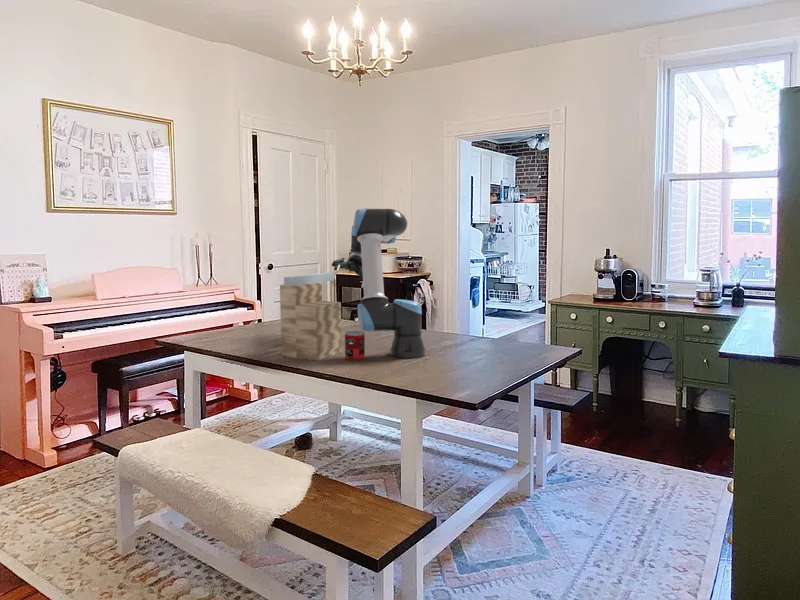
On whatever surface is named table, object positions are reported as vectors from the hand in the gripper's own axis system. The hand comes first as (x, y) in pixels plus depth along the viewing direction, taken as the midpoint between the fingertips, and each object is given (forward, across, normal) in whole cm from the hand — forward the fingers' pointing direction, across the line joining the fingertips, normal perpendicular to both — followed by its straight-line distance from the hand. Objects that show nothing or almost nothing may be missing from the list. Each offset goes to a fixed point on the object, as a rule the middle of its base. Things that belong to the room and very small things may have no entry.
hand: (349, 279), depth 275 cm
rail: (+16, +15, -2) cm, 23 cm away
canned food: (+40, -15, -13) cm, 44 cm away
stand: (+33, +2, -25) cm, 41 cm away
